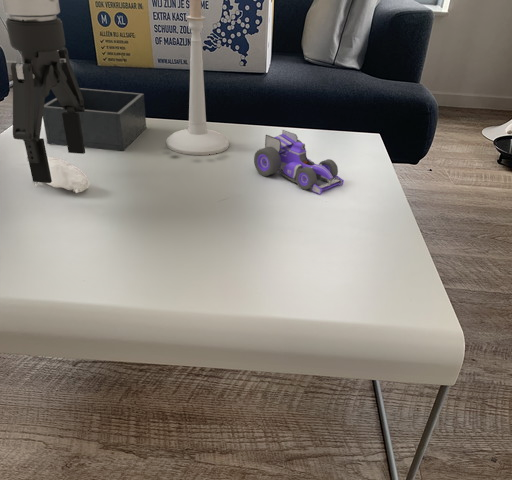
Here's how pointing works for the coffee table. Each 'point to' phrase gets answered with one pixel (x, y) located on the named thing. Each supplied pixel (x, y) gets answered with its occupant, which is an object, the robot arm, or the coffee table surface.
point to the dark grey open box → (100, 119)
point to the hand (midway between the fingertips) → (60, 166)
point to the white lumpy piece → (66, 175)
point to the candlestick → (197, 101)
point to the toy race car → (295, 163)
